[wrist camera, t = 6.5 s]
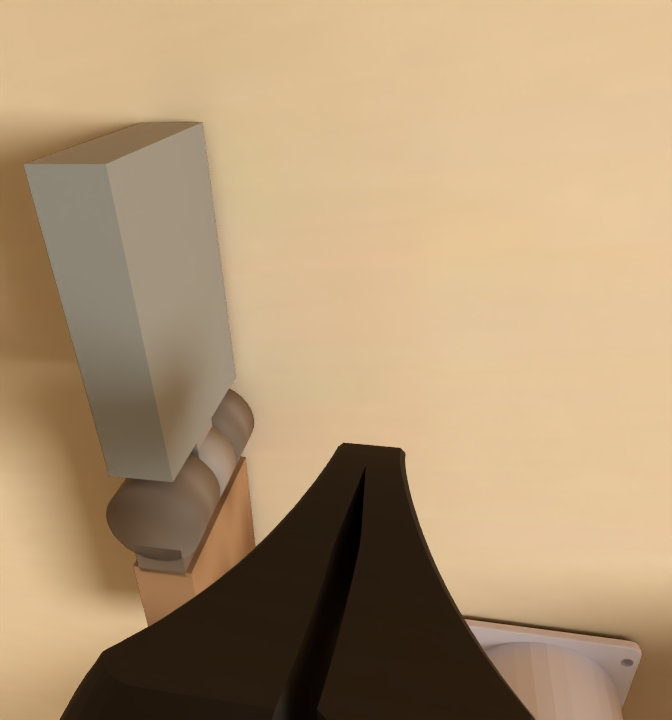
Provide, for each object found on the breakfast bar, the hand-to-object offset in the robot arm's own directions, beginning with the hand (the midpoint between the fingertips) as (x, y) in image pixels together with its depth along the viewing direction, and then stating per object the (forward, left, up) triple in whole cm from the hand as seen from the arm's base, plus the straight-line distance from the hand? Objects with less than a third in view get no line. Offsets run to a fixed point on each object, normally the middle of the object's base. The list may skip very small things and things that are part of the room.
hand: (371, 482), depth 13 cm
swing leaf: (0, +7, -9) cm, 11 cm away
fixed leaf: (-10, +7, -9) cm, 15 cm away
